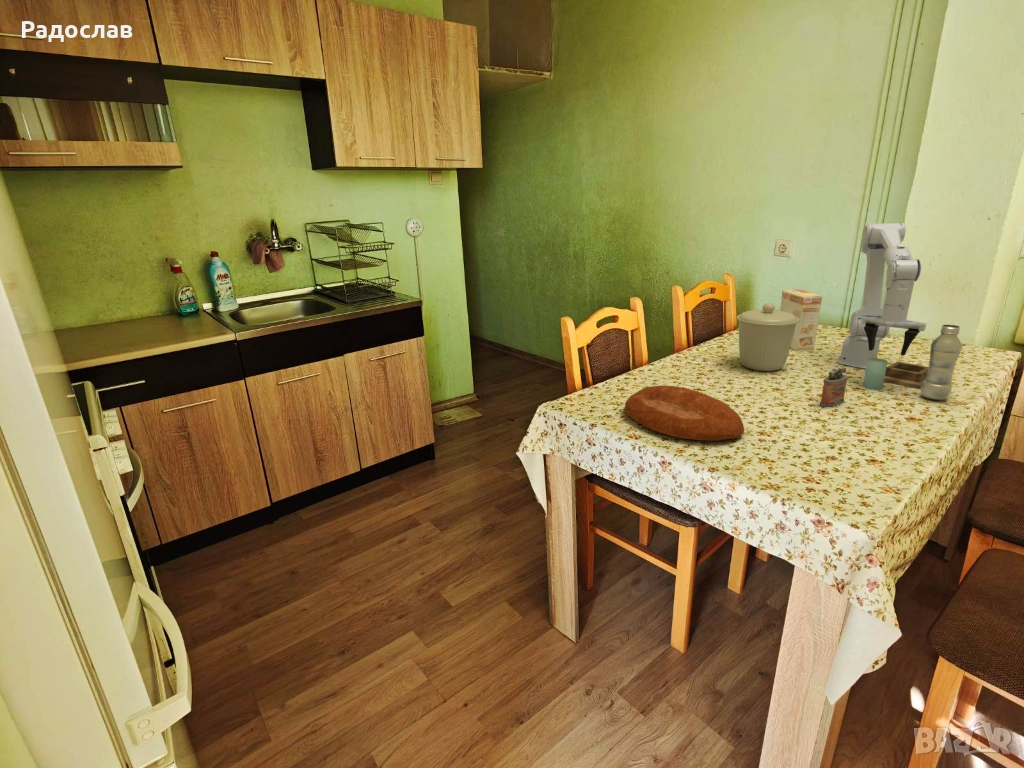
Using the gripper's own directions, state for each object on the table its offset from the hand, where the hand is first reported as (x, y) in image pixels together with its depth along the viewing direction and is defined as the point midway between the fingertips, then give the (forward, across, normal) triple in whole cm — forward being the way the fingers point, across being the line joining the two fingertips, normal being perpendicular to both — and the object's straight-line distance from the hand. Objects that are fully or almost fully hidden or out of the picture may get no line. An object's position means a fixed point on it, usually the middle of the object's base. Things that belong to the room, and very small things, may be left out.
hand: (886, 352), depth 147 cm
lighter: (+11, -5, -22) cm, 25 cm away
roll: (+10, -2, -1) cm, 11 cm away
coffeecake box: (+11, -35, +30) cm, 47 cm away
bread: (+11, -28, -59) cm, 66 cm away
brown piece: (+10, +4, +12) cm, 17 cm away
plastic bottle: (+11, +13, -1) cm, 17 cm away
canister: (+11, -33, -3) cm, 35 cm away
